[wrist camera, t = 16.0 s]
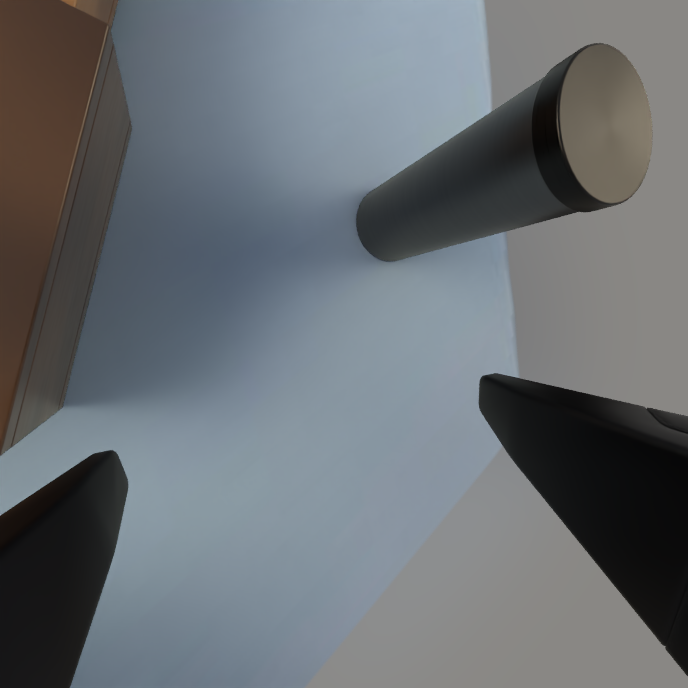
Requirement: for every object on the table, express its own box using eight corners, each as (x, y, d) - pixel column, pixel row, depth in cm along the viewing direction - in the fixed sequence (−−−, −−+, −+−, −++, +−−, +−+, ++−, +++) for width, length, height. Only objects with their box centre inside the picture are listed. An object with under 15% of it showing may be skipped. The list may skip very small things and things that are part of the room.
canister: (392, 278, 23) (611, 236, 11) (339, 225, 21) (533, 112, 10) (431, 225, 24) (669, 136, 12) (383, 169, 22) (607, 7, 11)
